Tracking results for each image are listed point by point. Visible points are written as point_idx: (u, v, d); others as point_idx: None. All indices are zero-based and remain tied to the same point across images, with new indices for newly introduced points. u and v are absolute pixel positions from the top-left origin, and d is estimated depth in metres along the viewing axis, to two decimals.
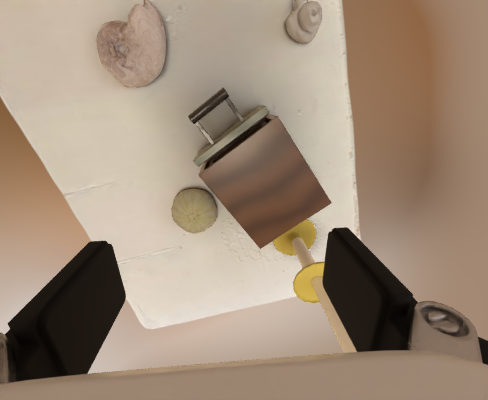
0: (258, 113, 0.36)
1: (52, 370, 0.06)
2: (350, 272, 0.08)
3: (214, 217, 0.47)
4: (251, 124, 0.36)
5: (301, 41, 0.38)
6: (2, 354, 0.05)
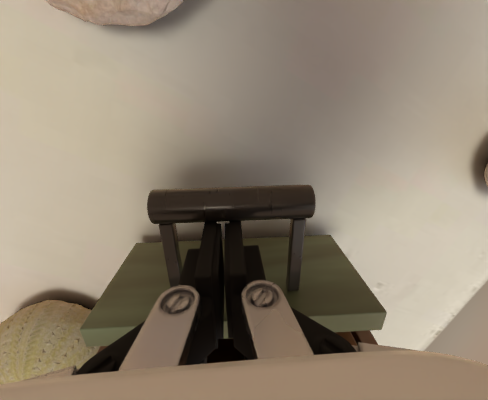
0: (356, 318, 0.11)
1: (214, 319, 0.08)
2: None
3: None
4: None
5: None
6: (191, 314, 0.06)
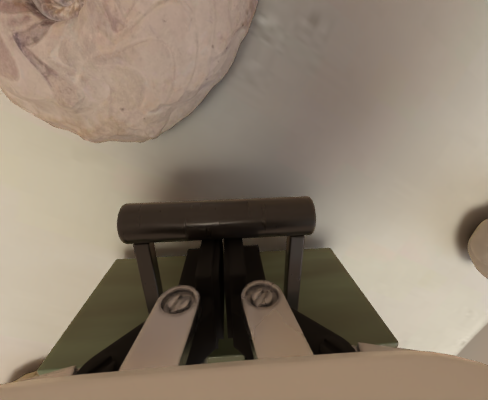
0: None
1: (215, 320, 0.08)
2: None
3: None
4: None
5: (487, 274, 0.16)
6: (191, 315, 0.06)
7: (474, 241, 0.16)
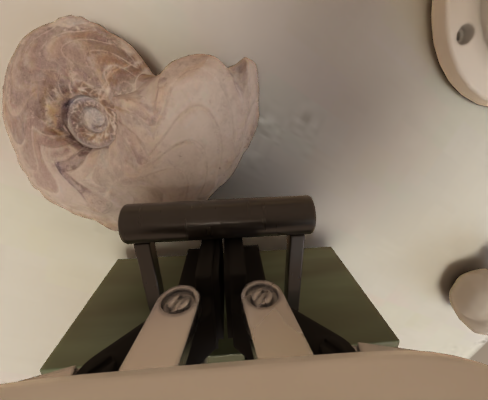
0: None
1: (215, 320, 0.08)
2: None
3: None
4: None
5: (465, 323, 0.18)
6: (191, 315, 0.06)
7: (454, 293, 0.18)
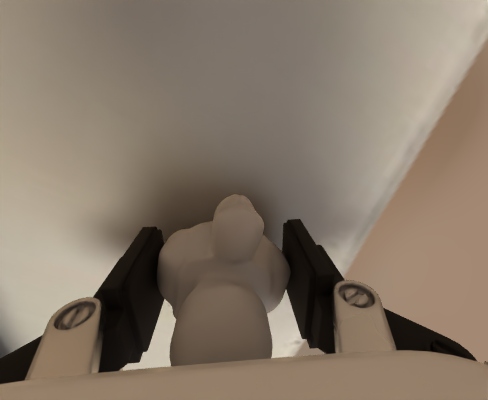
0: None
1: (130, 332, 0.07)
2: (294, 258, 0.09)
3: None
4: None
5: None
6: (95, 321, 0.06)
7: None
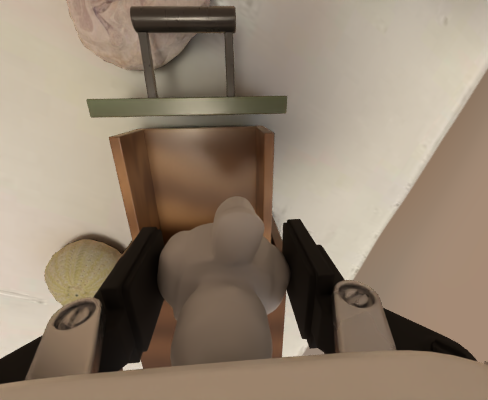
0: (267, 100, 0.17)
1: (130, 333, 0.07)
2: (294, 258, 0.09)
3: None
4: (243, 111, 0.17)
5: None
6: (95, 321, 0.06)
7: None
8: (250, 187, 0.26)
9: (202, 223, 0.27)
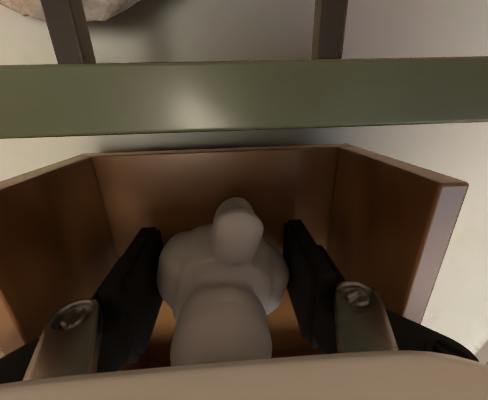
0: None
1: (128, 333, 0.07)
2: (295, 258, 0.09)
3: None
4: (396, 113, 0.05)
5: None
6: (93, 321, 0.06)
7: None
8: None
9: None
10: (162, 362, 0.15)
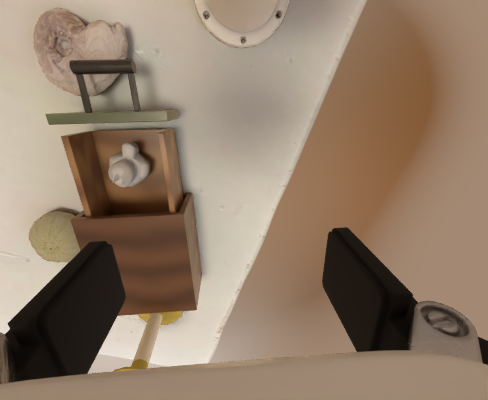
0: (154, 113, 0.28)
1: (52, 370, 0.06)
2: (350, 272, 0.08)
3: None
4: (140, 119, 0.29)
5: None
6: (2, 354, 0.05)
7: None
8: None
9: (138, 196, 0.38)
10: (118, 213, 0.39)
